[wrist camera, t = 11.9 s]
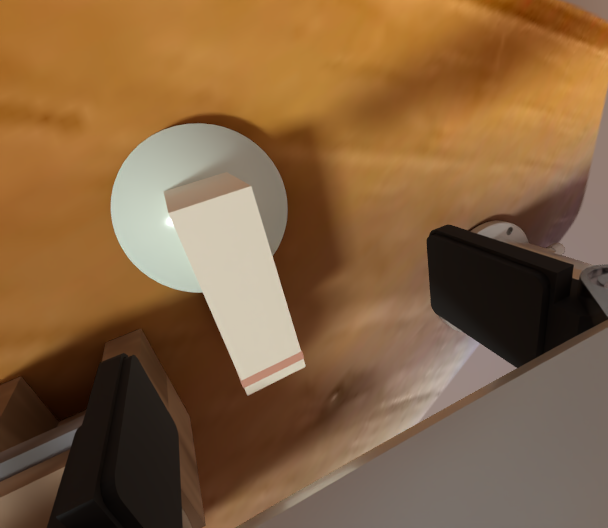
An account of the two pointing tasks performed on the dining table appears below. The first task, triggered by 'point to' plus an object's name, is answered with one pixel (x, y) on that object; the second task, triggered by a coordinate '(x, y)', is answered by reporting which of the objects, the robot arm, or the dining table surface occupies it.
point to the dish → (177, 172)
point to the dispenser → (58, 439)
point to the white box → (237, 276)
